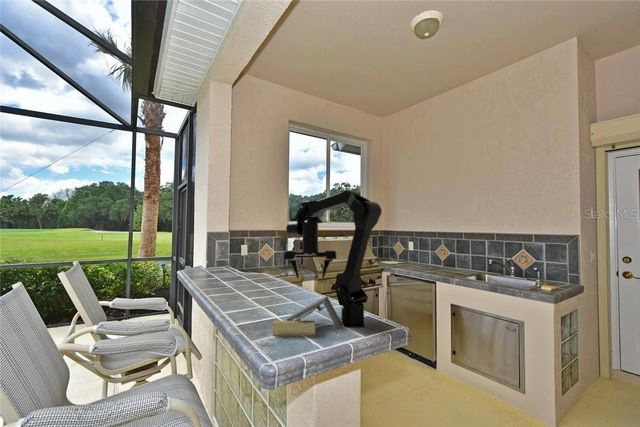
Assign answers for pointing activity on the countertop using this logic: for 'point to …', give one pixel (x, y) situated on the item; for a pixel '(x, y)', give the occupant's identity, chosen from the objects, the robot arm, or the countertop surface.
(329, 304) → the bracket
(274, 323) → the tan wooden block
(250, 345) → the countertop surface
